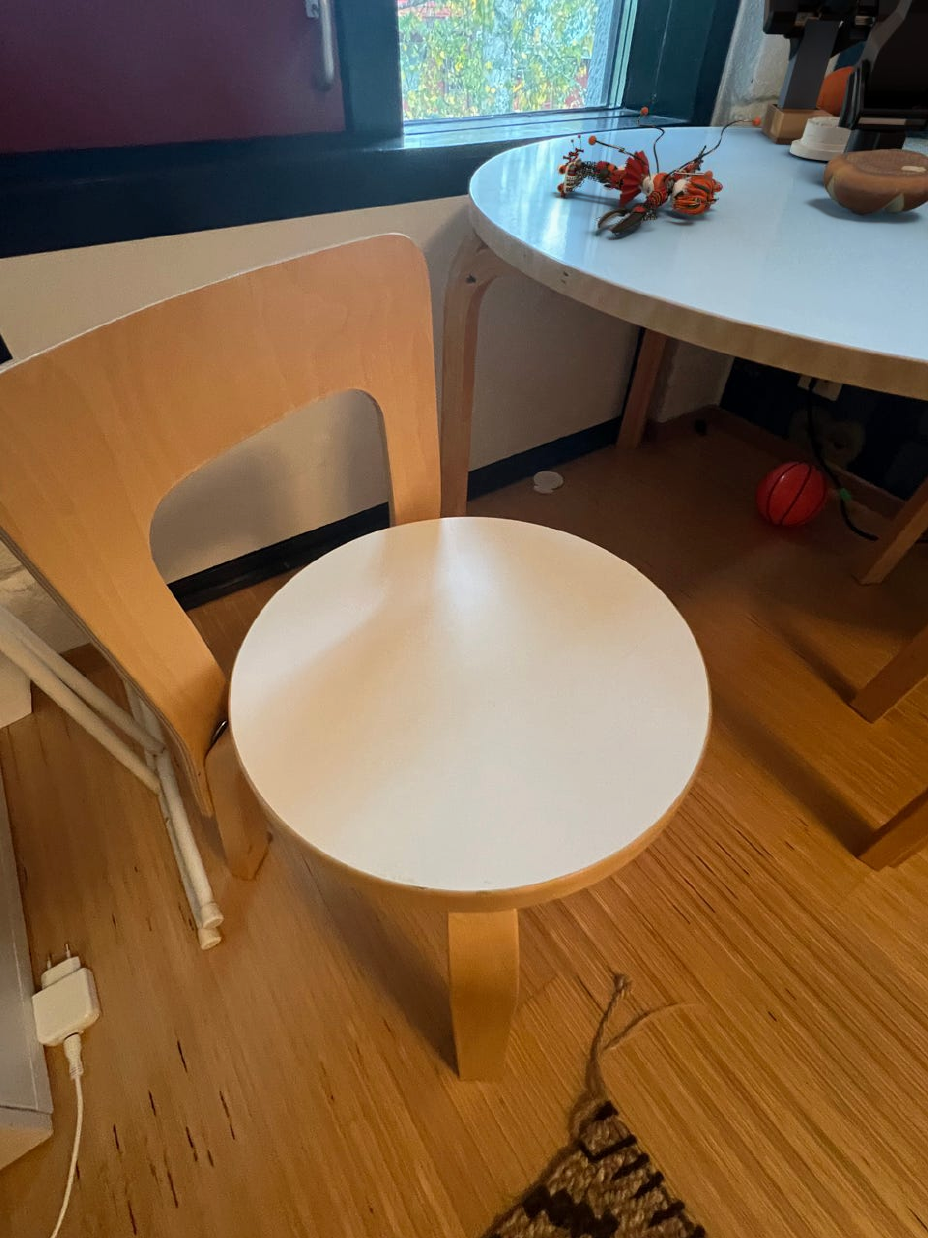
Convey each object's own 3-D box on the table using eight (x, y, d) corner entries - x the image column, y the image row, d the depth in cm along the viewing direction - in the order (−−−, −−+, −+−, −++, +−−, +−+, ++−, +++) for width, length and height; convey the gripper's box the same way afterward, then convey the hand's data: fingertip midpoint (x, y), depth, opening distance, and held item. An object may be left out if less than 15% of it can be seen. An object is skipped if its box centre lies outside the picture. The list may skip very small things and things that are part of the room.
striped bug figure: (497, 231, 74) (667, 280, 68) (502, 137, 68) (691, 181, 61) (597, 161, 88) (747, 196, 81) (609, 76, 81) (774, 107, 74)
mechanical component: (822, 165, 95) (877, 161, 98) (834, 127, 92) (891, 123, 95) (774, 151, 102) (826, 148, 105) (784, 115, 99) (838, 112, 102)
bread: (908, 141, 78) (889, 191, 82) (813, 151, 77) (799, 200, 81) (972, 170, 71) (949, 223, 75) (869, 181, 70) (850, 234, 74)
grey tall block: (813, 113, 108) (846, 3, 99) (781, 112, 108) (811, 2, 99) (807, 110, 111) (839, 2, 102) (775, 109, 111) (804, 1, 102)
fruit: (807, 117, 125) (823, 61, 120) (859, 122, 122) (878, 64, 117) (800, 124, 119) (817, 65, 114) (855, 129, 117) (875, 69, 111)
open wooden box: (823, 145, 106) (833, 115, 103) (775, 143, 107) (784, 113, 104) (805, 133, 114) (814, 104, 111) (761, 131, 114) (768, 103, 111)
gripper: (937, -101, 90) (872, 8, 106) (791, -103, 91) (749, 5, 107) (931, -18, 90) (868, 79, 105) (785, -21, 91) (744, 75, 106)
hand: (807, 57), depth 106 cm, fingers closed on grey tall block, 5 cm apart
